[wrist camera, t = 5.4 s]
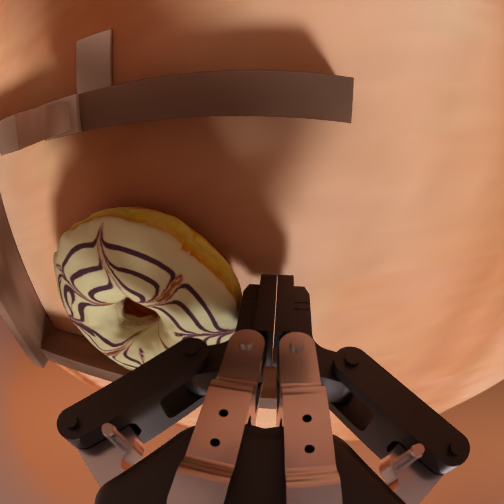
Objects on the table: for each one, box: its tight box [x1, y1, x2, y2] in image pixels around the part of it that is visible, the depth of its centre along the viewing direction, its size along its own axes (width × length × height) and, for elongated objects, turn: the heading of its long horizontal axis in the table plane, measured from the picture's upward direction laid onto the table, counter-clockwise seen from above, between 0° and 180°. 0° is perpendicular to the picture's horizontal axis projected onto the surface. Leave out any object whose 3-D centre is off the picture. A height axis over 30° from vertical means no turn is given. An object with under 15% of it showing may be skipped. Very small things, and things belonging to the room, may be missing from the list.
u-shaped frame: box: [0, 29, 354, 409], centre depth 13 cm, size 25×22×6 cm
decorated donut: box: [54, 207, 242, 370], centre depth 14 cm, size 10×11×4 cm
